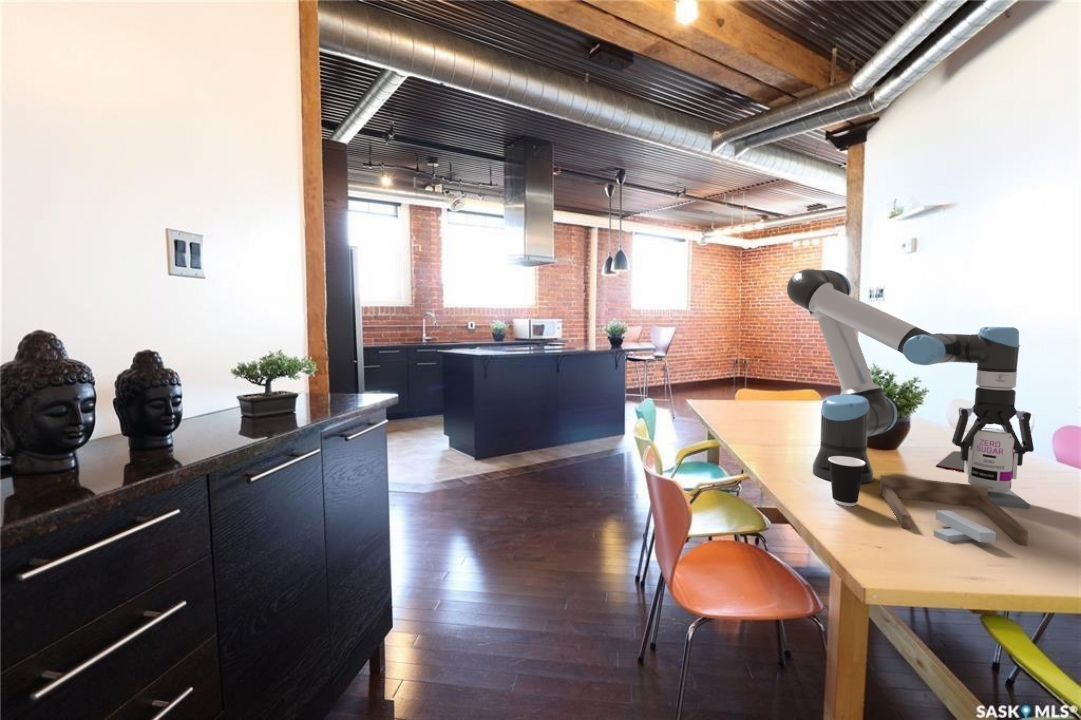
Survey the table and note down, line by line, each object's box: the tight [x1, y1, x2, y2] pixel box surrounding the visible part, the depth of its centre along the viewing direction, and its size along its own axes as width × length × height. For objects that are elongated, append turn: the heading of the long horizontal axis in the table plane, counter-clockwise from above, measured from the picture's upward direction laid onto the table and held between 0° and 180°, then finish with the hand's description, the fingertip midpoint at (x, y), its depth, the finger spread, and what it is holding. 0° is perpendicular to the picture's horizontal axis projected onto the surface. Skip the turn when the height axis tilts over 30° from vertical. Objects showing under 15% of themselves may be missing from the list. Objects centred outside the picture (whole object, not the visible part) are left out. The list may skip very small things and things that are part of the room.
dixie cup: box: [828, 456, 866, 507], centre depth 124 cm, size 8×8×11 cm
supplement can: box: [967, 427, 1014, 493], centre depth 127 cm, size 8×8×15 cm
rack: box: [879, 474, 1029, 546], centre depth 116 cm, size 22×24×5 cm
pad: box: [987, 489, 1031, 509], centre depth 128 cm, size 12×12×1 cm
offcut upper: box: [935, 509, 997, 544], centre depth 105 cm, size 12×3×2 cm, turn 177°
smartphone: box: [935, 450, 965, 473], centre depth 157 cm, size 12×2×25 cm
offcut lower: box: [933, 525, 995, 543], centre depth 105 cm, size 12×3×2 cm, turn 102°
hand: (989, 475), depth 128 cm, fingers closed on supplement can, 8 cm apart
